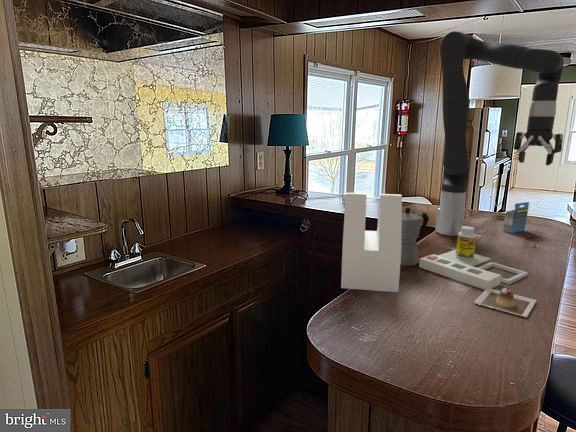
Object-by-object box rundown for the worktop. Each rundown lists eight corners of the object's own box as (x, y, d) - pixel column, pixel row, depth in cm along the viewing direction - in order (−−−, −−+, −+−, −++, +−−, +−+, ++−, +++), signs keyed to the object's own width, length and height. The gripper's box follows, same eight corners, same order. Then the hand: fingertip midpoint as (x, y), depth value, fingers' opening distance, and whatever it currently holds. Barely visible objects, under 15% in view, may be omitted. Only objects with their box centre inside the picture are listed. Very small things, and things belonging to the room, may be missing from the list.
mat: (437, 257, 139) (437, 255, 139) (457, 250, 146) (457, 248, 146) (470, 267, 130) (470, 266, 130) (490, 259, 137) (490, 258, 137)
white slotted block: (398, 292, 112) (404, 202, 106) (341, 288, 115) (344, 200, 109) (393, 267, 131) (399, 189, 124) (344, 264, 133) (347, 187, 127)
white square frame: (472, 272, 126) (472, 268, 126) (491, 264, 132) (491, 261, 132) (508, 284, 117) (509, 280, 117) (527, 275, 124) (527, 271, 123)
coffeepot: (397, 269, 129) (401, 212, 124) (378, 259, 137) (381, 206, 132) (435, 261, 135) (440, 207, 130) (415, 253, 143) (419, 202, 139)
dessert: (536, 304, 107) (539, 286, 106) (526, 321, 98) (529, 302, 97) (486, 291, 114) (488, 275, 113) (473, 306, 105) (475, 288, 104)
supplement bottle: (456, 259, 136) (459, 229, 133) (454, 253, 141) (458, 224, 139) (474, 260, 134) (478, 230, 132) (472, 255, 139) (476, 226, 137)
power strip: (419, 267, 130) (419, 257, 130) (437, 260, 136) (438, 251, 135) (487, 290, 113) (488, 279, 112) (504, 282, 119) (506, 271, 118)
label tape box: (516, 228, 174) (520, 199, 171) (525, 230, 170) (529, 201, 167) (502, 231, 170) (506, 201, 167) (511, 233, 166) (515, 203, 163)
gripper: (514, 115, 142) (508, 162, 146) (560, 115, 130) (552, 166, 134) (524, 114, 146) (518, 161, 150) (570, 115, 135) (562, 165, 139)
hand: (534, 163), depth 142 cm, fingers open, 8 cm apart
